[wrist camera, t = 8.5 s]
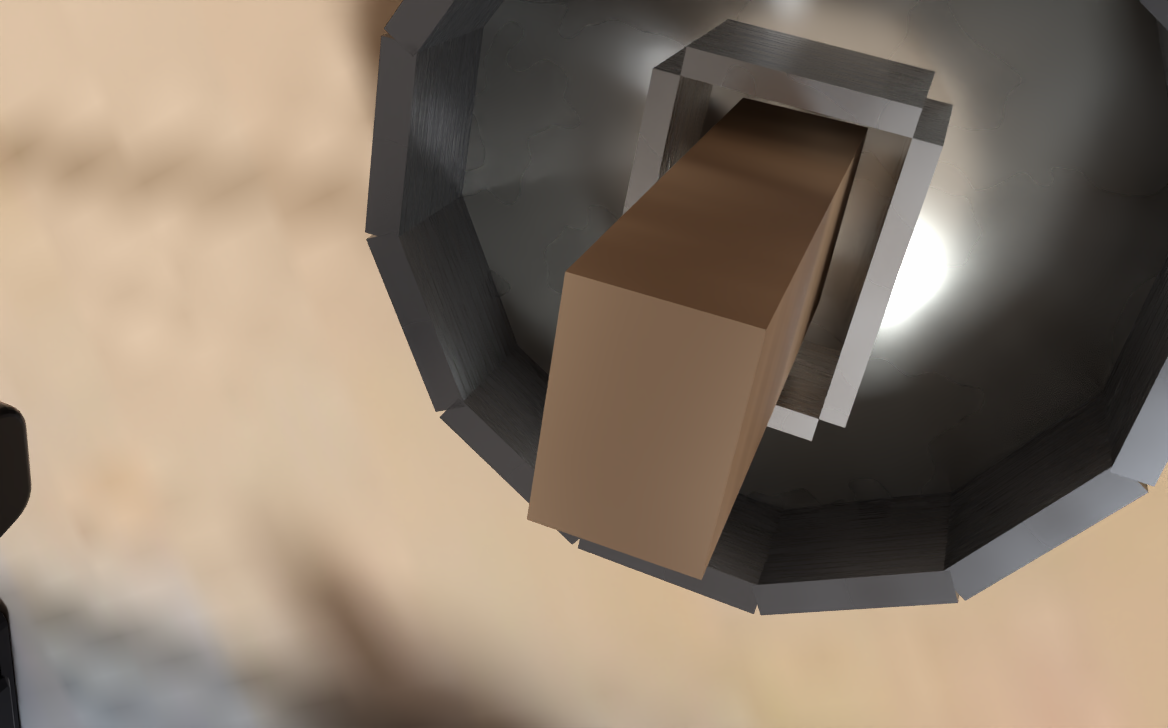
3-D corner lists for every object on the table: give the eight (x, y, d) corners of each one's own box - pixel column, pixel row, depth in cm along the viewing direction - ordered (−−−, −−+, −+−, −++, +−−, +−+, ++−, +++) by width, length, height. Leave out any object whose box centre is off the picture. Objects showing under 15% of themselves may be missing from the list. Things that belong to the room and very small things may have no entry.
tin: (421, 390, 23) (343, 464, 20) (504, -301, 17) (407, -324, 14) (1029, 605, 20) (1031, 722, 17) (1391, -125, 14) (1476, -115, 11)
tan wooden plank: (705, 269, 19) (527, 519, 12) (743, 97, 17) (565, 271, 11) (819, 301, 18) (701, 579, 12) (868, 127, 17) (766, 329, 10)
